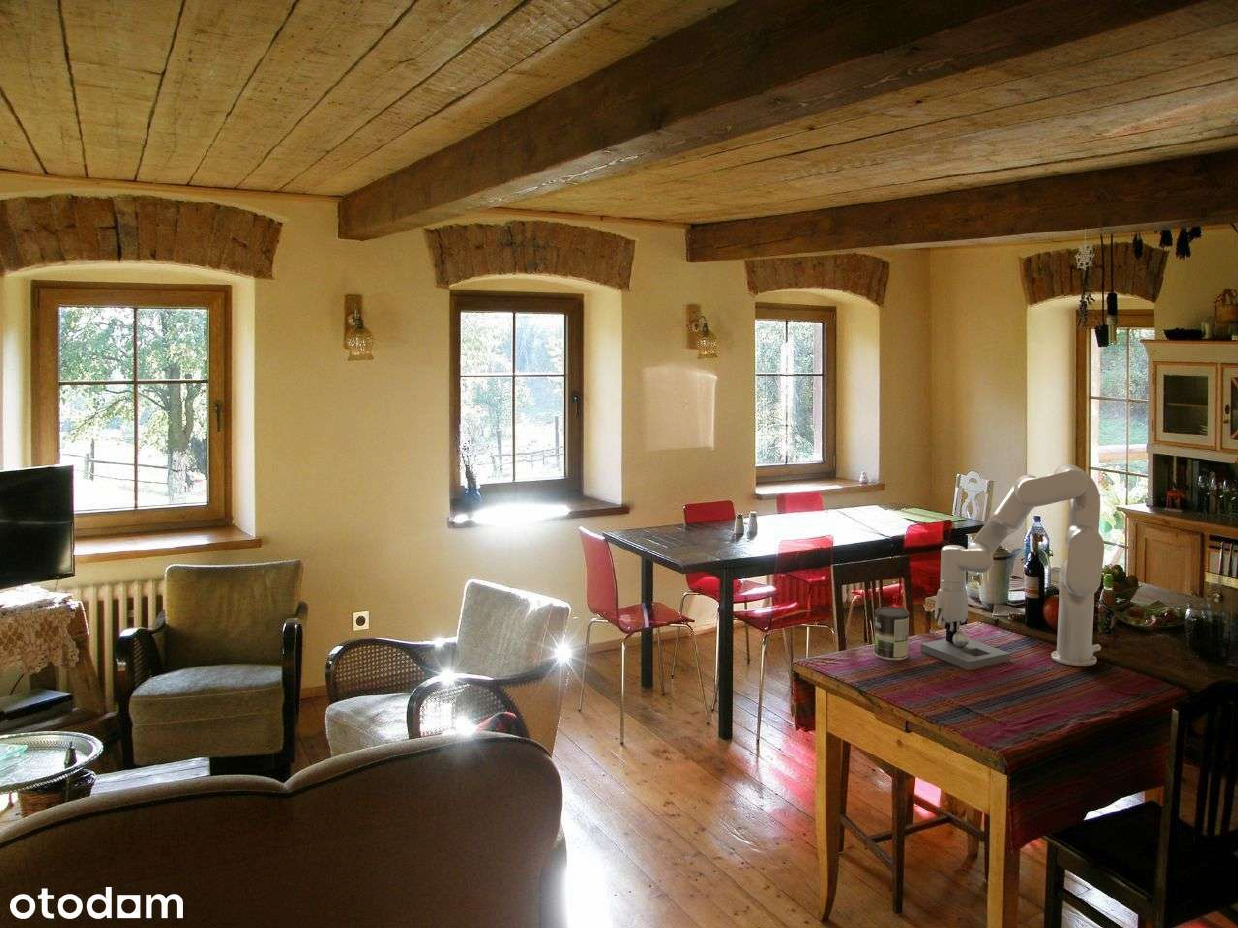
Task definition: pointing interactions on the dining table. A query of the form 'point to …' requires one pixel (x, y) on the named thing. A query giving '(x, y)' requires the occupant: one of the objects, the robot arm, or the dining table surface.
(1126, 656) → the dining table surface
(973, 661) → the hole board
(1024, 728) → the dining table surface
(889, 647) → the coffee can
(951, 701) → the dining table surface
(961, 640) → the steel ball
